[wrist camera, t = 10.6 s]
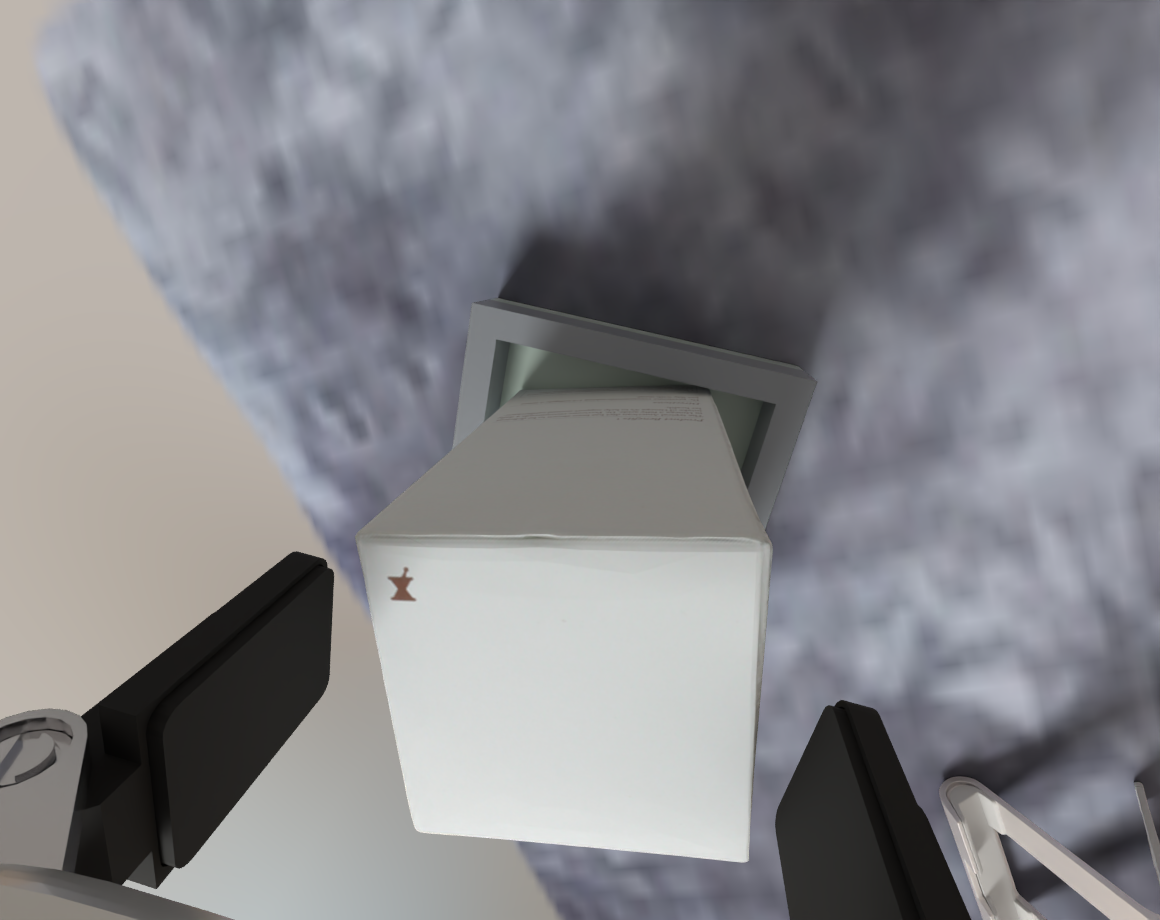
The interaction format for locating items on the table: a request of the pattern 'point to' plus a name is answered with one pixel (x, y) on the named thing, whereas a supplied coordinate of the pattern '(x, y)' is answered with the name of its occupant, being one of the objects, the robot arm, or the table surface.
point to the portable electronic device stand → (987, 867)
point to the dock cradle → (634, 379)
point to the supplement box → (578, 626)
